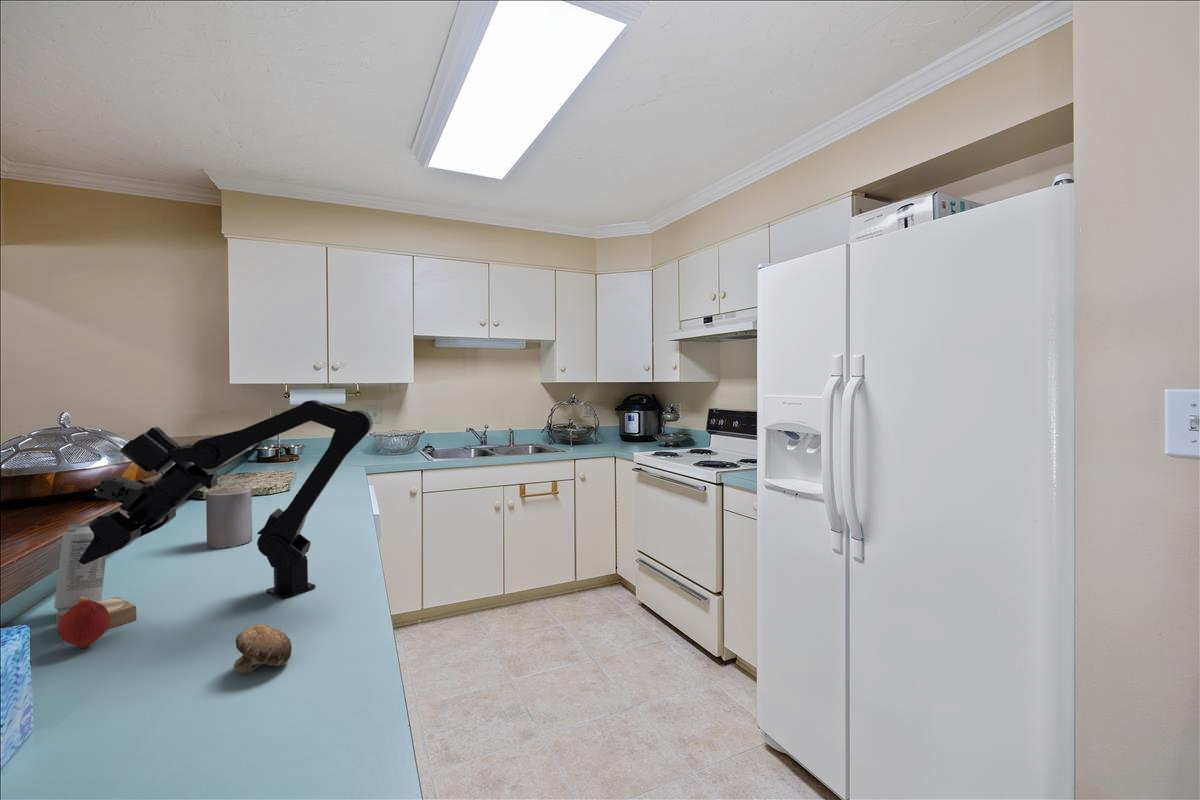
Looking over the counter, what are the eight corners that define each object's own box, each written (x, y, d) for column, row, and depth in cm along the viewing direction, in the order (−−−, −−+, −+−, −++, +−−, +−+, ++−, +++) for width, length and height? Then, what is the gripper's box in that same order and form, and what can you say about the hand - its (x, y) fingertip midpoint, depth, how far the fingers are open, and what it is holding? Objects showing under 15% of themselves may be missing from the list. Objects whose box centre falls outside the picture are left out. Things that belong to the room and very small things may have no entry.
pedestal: (136, 620, 92) (136, 604, 92) (73, 639, 85) (73, 622, 85) (117, 610, 96) (117, 594, 96) (56, 627, 89) (55, 611, 89)
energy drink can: (96, 605, 99) (105, 523, 101) (104, 607, 95) (113, 522, 98) (50, 612, 94) (61, 525, 96) (56, 615, 90) (67, 525, 93)
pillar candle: (211, 540, 139) (210, 484, 138) (255, 536, 143) (254, 481, 142) (202, 551, 130) (200, 490, 129) (249, 546, 134) (248, 487, 133)
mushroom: (208, 663, 71) (241, 618, 74) (231, 658, 79) (260, 617, 81) (262, 689, 72) (293, 643, 75) (280, 682, 79) (307, 640, 82)
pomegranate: (107, 634, 86) (105, 586, 86) (114, 645, 83) (112, 595, 83) (56, 648, 82) (54, 597, 82) (61, 660, 78) (59, 607, 78)
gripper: (156, 454, 105) (87, 513, 102) (103, 468, 87) (17, 540, 84) (203, 491, 108) (138, 550, 104) (161, 512, 90) (80, 583, 87)
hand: (96, 554), depth 95 cm, fingers open, 9 cm apart
